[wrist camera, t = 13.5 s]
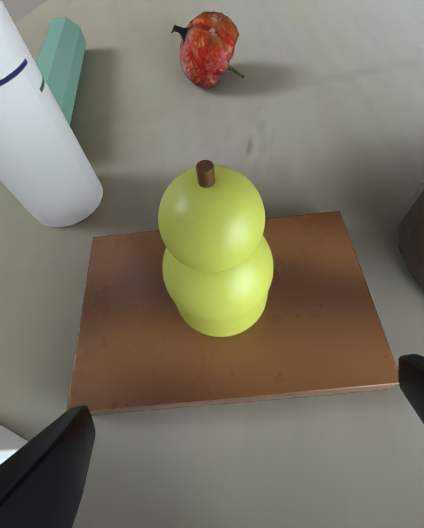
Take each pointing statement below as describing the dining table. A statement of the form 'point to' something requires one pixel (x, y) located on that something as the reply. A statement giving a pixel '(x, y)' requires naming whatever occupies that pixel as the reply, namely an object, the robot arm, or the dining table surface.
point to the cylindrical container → (39, 141)
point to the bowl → (413, 235)
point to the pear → (215, 249)
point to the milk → (9, 443)
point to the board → (236, 346)
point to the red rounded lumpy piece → (207, 48)
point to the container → (62, 62)
